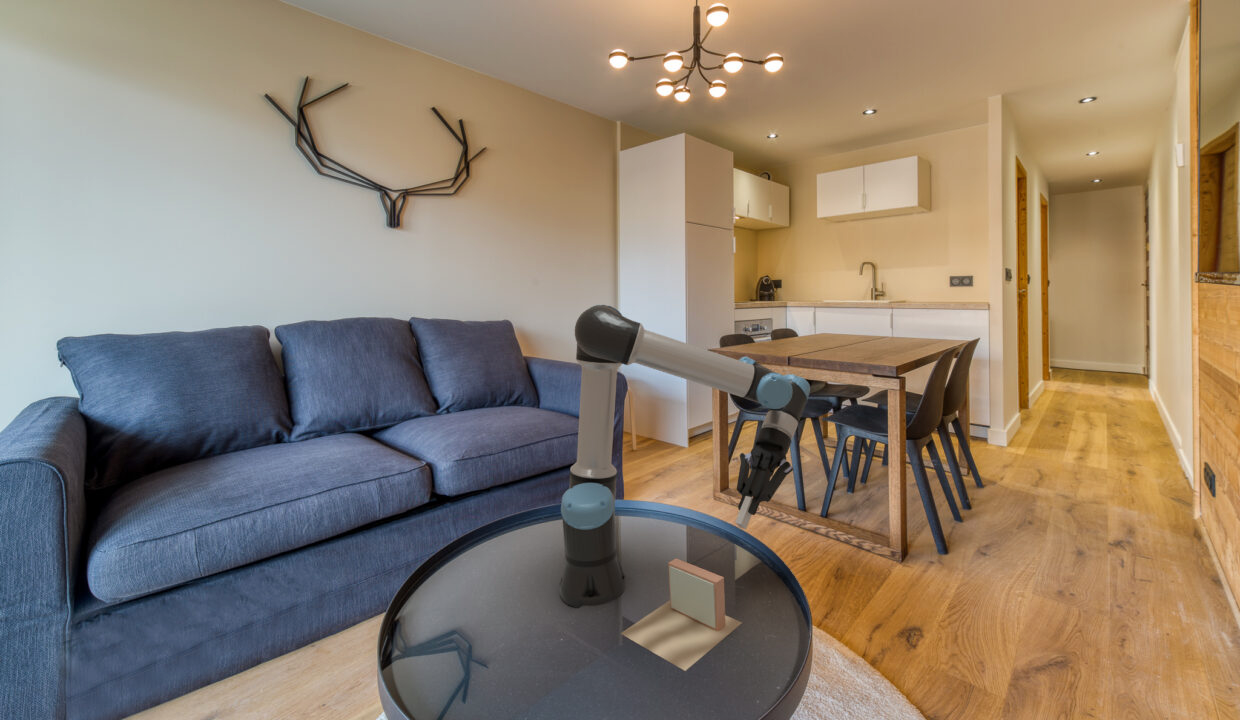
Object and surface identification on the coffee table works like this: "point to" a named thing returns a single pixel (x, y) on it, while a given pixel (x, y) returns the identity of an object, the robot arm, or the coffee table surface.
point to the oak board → (677, 635)
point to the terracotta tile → (697, 593)
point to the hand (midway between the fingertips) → (740, 525)
